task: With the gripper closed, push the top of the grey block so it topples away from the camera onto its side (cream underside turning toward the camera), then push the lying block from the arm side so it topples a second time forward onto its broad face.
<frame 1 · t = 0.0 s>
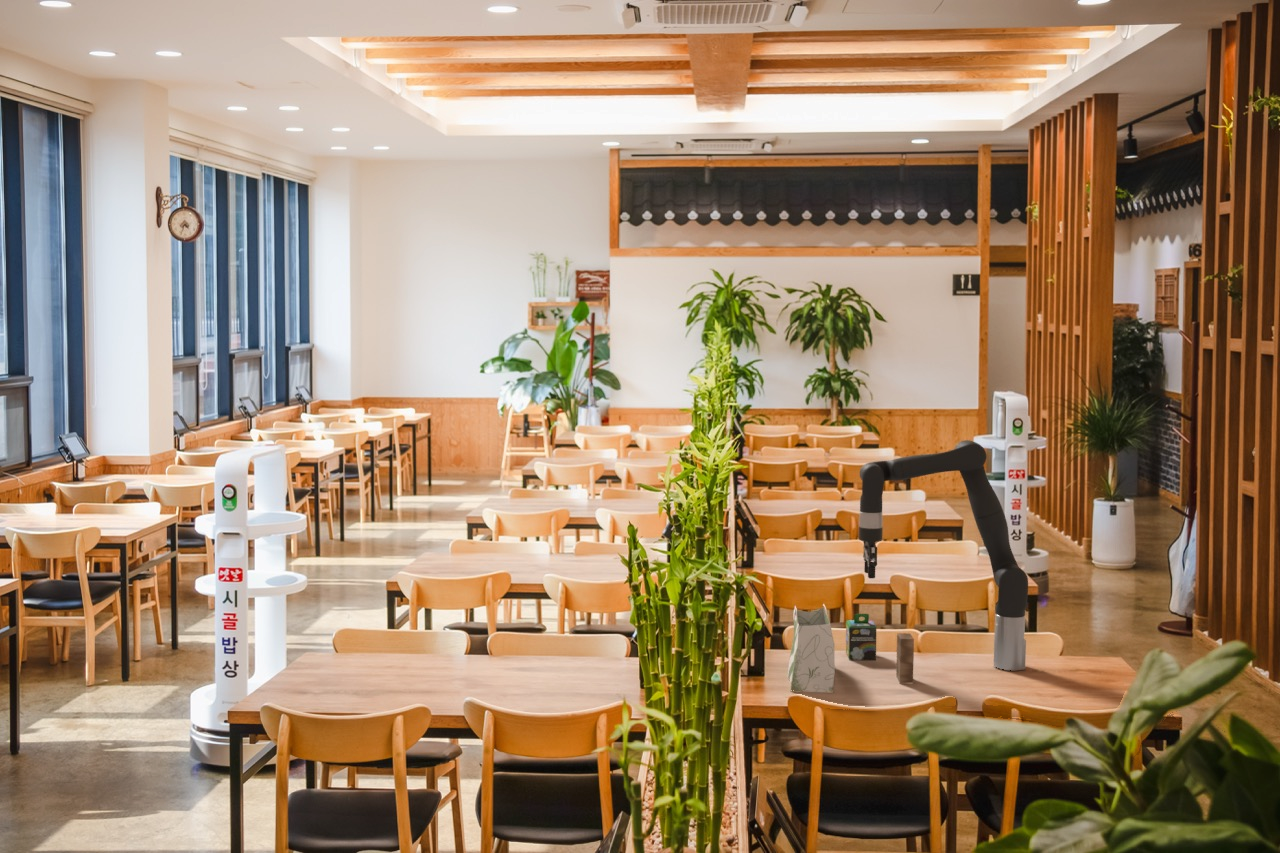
hand: (869, 575, 418), 29 cm above the table, fingers open, 8 cm apart
grocery bag: (810, 678, 405), on the table
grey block: (904, 680, 403), on the table
chalk box: (860, 657, 431), on the table
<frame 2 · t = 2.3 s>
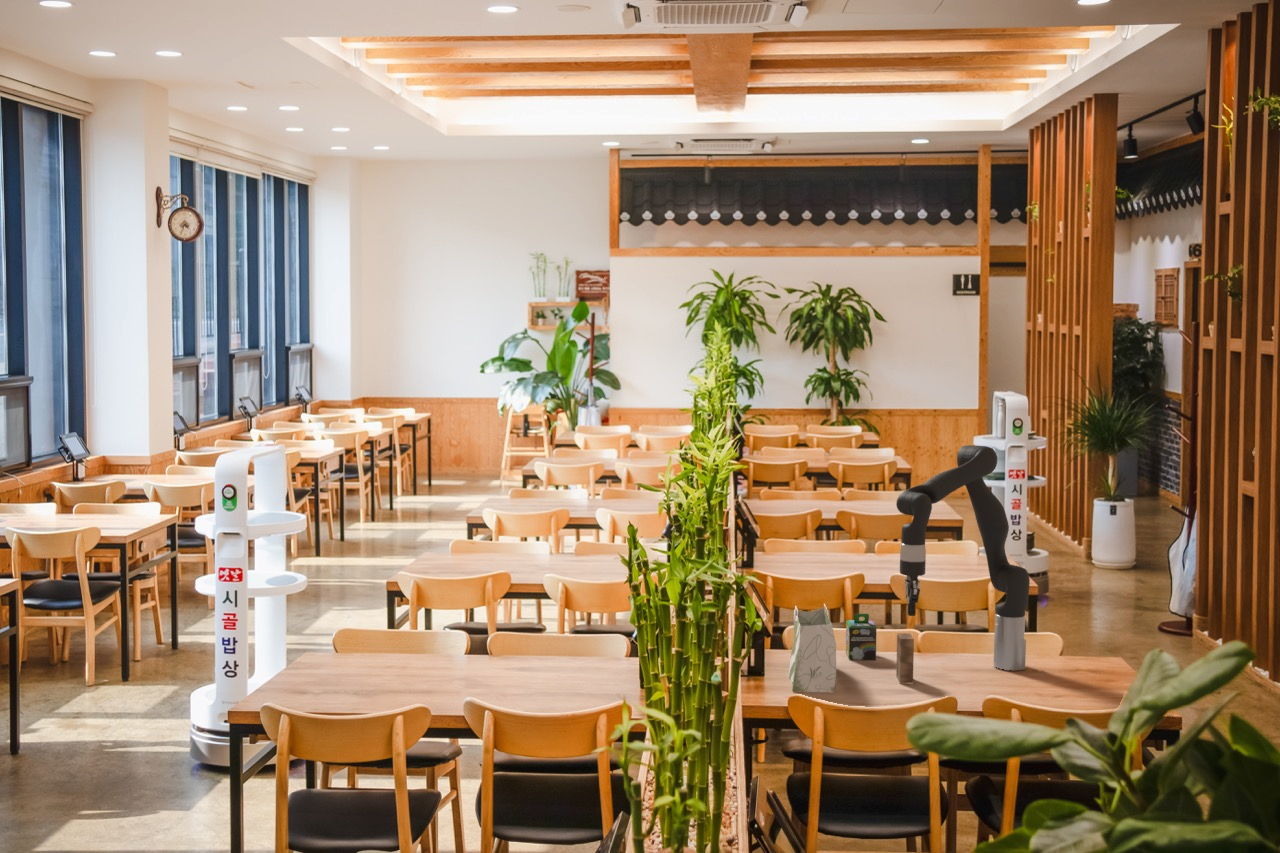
hand: (911, 615, 391), 23 cm above the table, fingers closed
nothing on the table moved.
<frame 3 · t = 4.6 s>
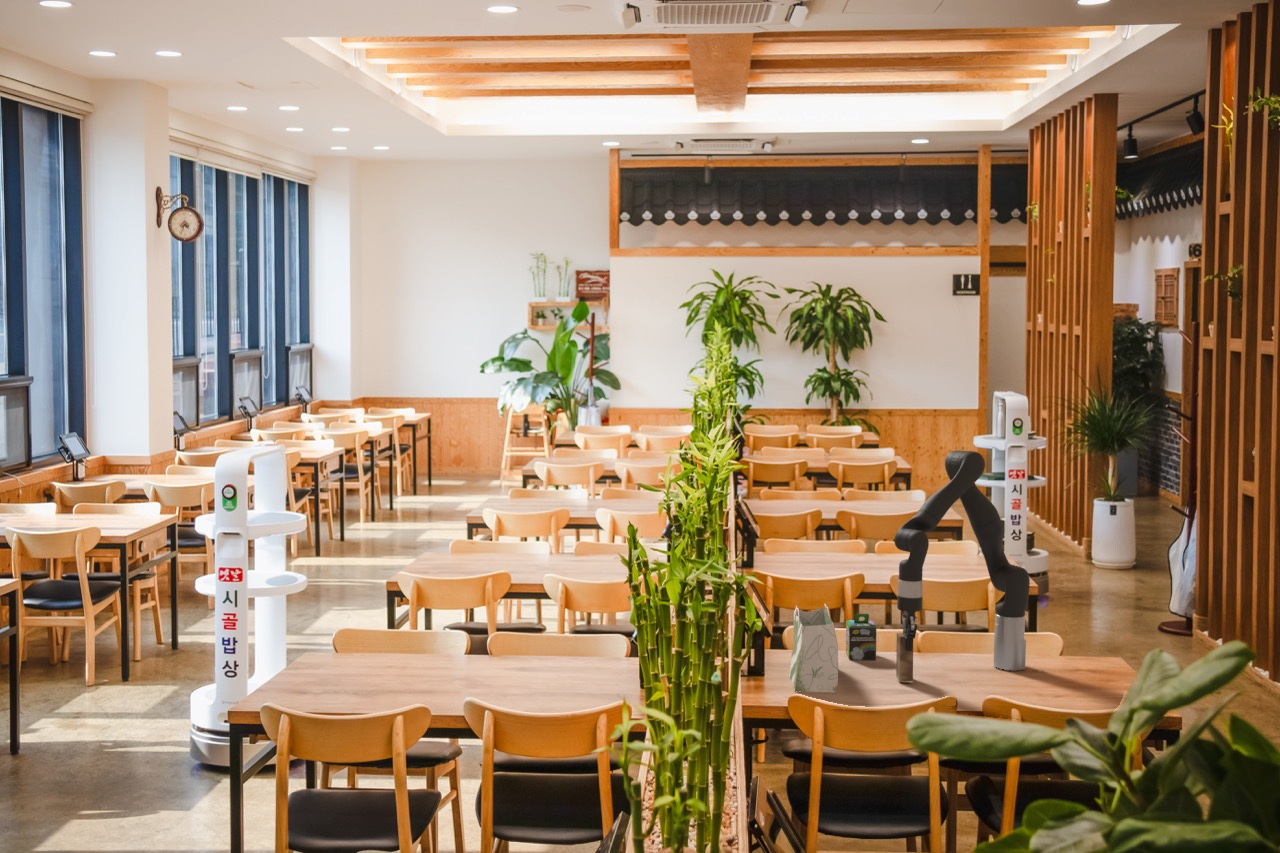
hand: (908, 650, 397), 11 cm above the table, fingers closed
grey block: (904, 679, 403), on the table, touching gripper
everything else where it was.
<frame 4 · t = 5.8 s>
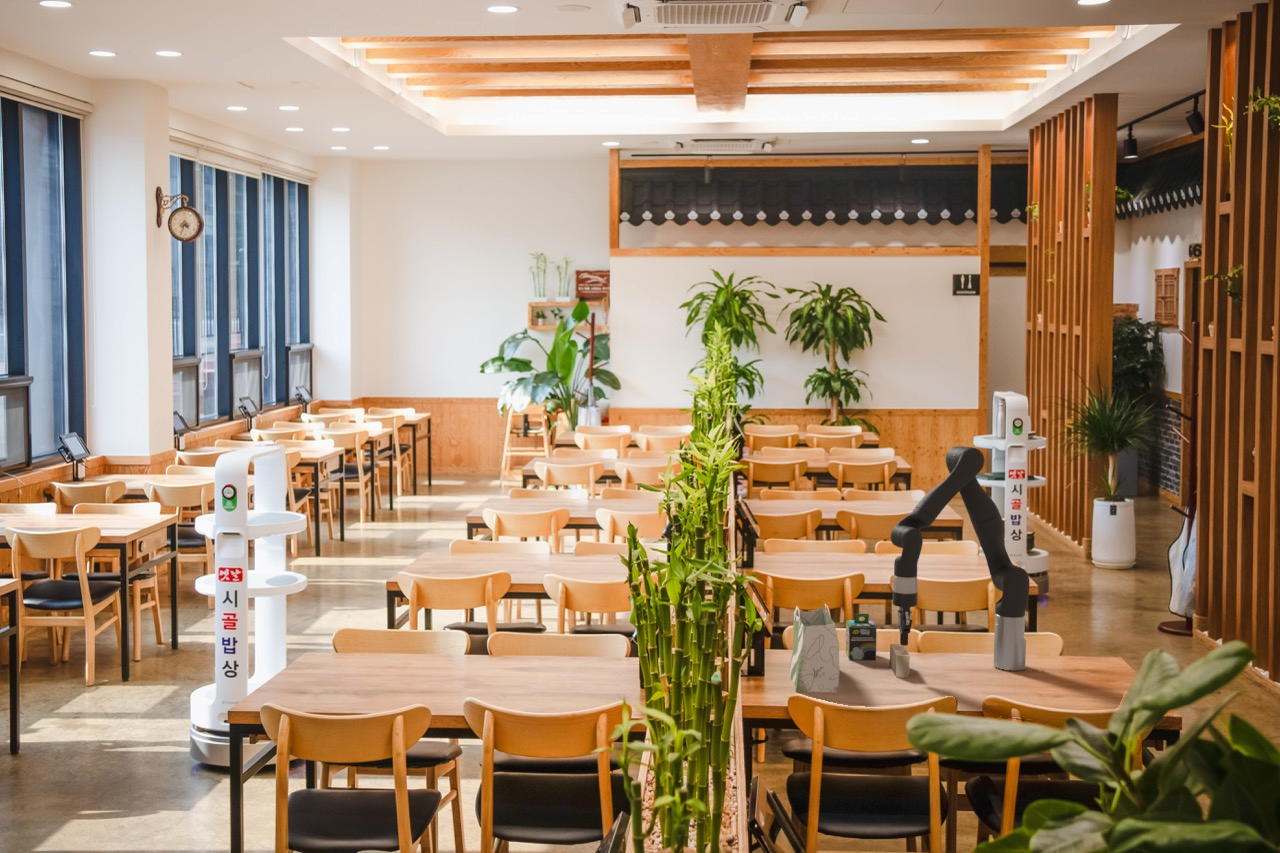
hand: (904, 644, 405), 10 cm above the table, fingers closed
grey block: (902, 666, 406), point 3 cm above the table, tilted 90°
everything else where it was.
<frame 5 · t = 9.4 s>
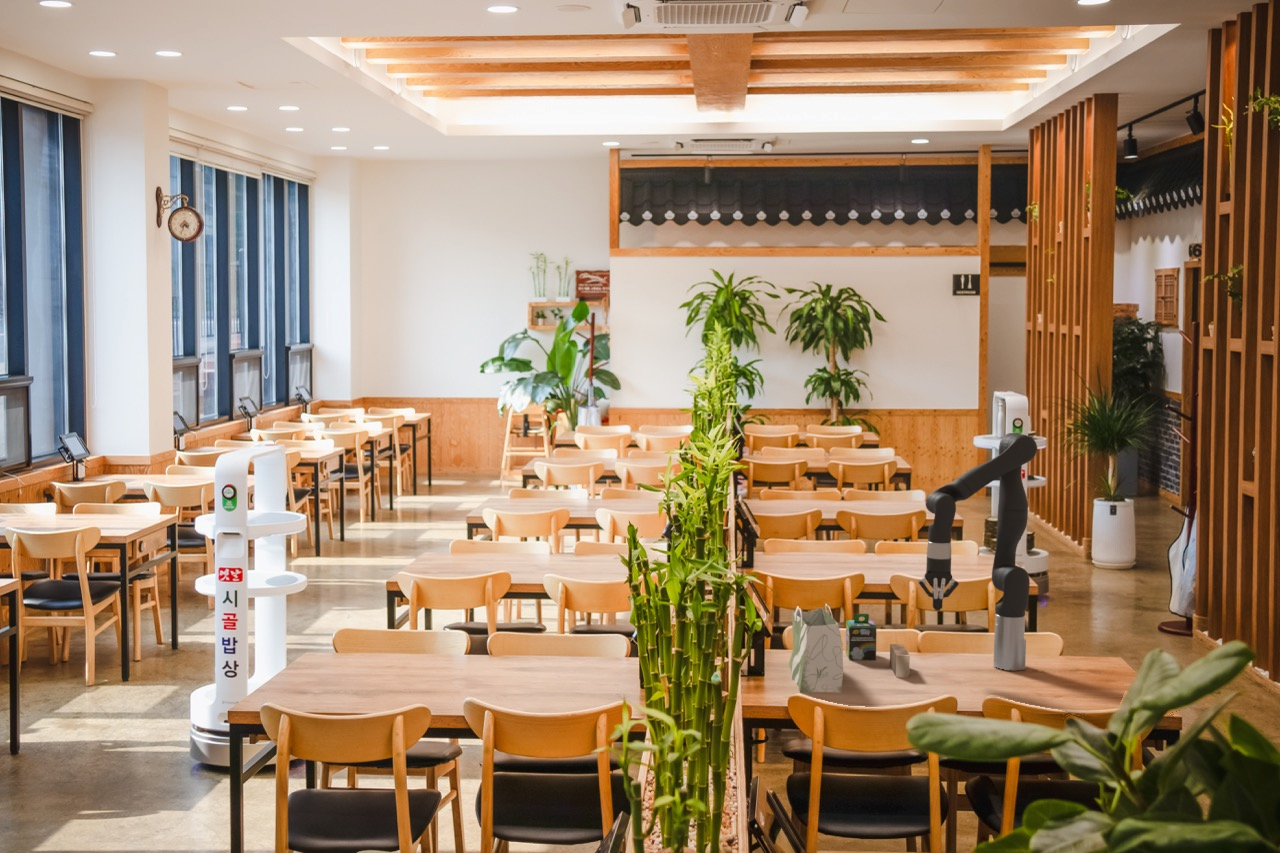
hand: (937, 610, 411), 20 cm above the table, fingers closed
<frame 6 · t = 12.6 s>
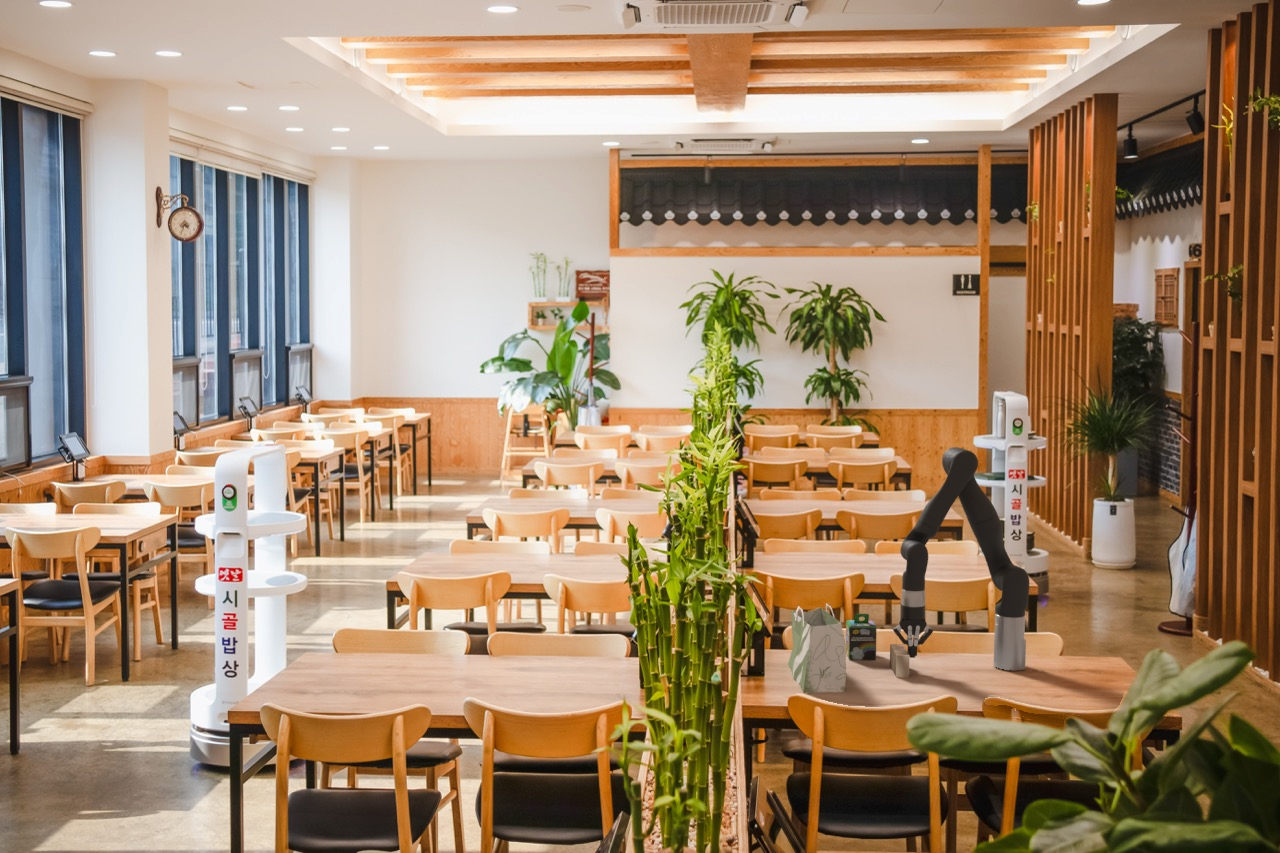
hand: (912, 657, 412), 5 cm above the table, fingers closed
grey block: (902, 666, 406), point 3 cm above the table, tilted 90°, touching gripper
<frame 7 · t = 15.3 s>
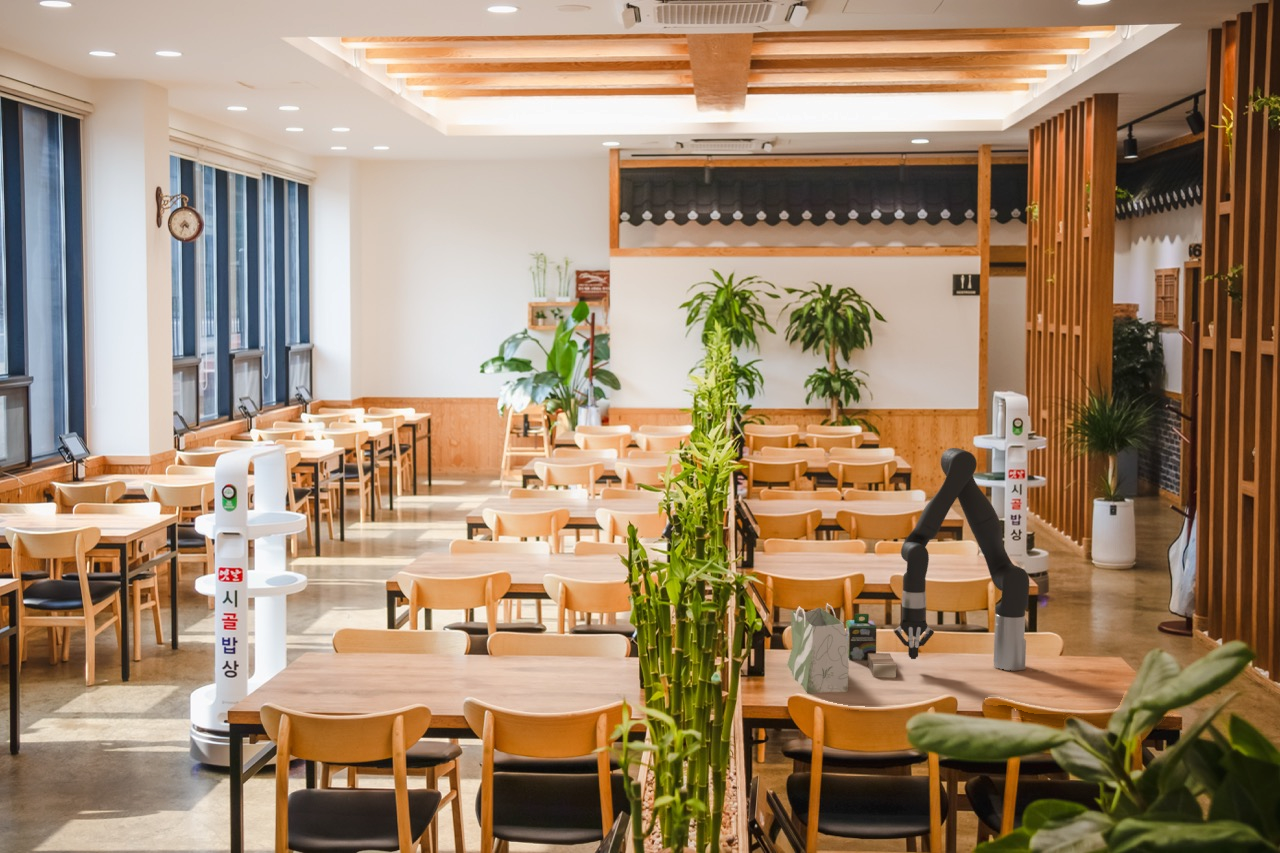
hand: (913, 658, 413), 4 cm above the table, fingers closed
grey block: (884, 671, 406), point 2 cm above the table, tilted 90°
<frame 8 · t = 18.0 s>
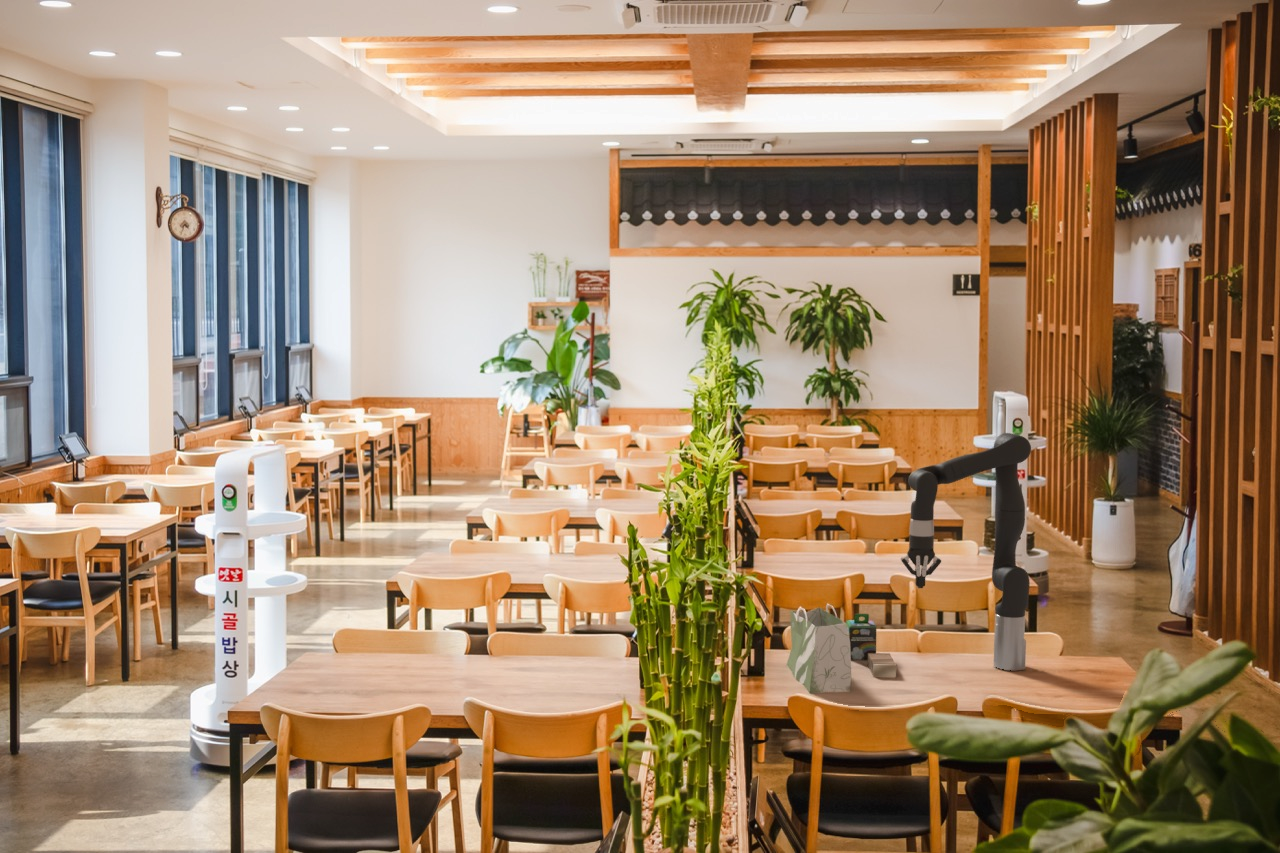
hand: (920, 587, 411), 27 cm above the table, fingers closed
at the end: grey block tilted 90°; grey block inside the target area (5.9 cm from its centre), point 1.9 cm above the table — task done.
